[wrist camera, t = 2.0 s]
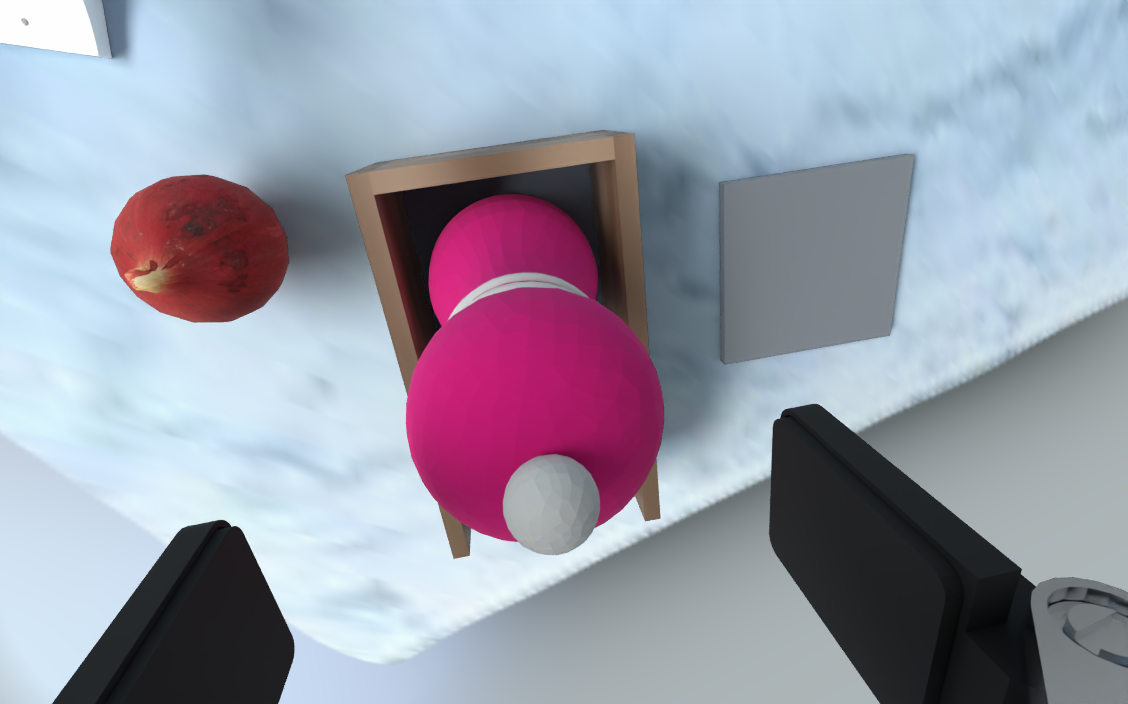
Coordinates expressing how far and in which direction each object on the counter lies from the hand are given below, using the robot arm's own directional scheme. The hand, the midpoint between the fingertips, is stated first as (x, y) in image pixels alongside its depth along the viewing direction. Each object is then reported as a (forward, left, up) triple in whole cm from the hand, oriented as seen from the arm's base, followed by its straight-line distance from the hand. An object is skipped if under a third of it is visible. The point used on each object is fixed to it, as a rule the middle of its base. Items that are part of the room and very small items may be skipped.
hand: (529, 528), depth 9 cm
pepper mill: (0, 0, -20) cm, 20 cm away
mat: (-16, +3, -20) cm, 26 cm away
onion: (+12, -3, -20) cm, 23 cm away
